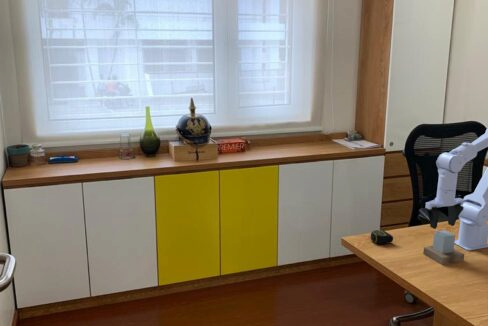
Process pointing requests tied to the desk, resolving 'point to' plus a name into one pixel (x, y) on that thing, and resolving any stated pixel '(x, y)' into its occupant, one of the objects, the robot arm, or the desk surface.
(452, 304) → the desk surface
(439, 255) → the walnut base
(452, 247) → the grey block
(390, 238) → the tape measure
